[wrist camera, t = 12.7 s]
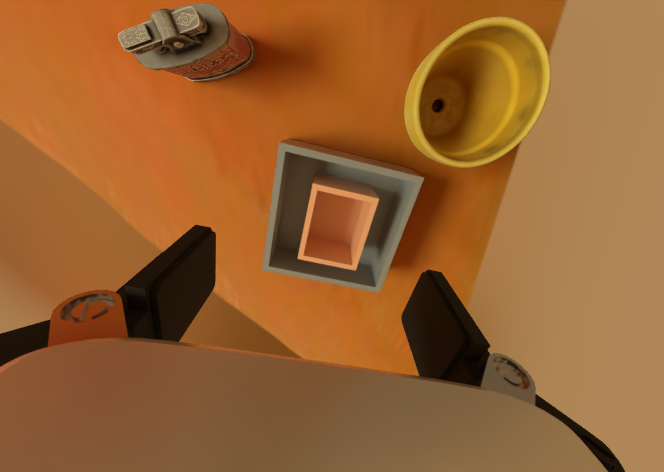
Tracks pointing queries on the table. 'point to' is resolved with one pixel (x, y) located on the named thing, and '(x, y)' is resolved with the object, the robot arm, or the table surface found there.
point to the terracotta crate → (337, 221)
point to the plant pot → (478, 92)
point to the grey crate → (292, 203)
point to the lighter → (190, 43)
